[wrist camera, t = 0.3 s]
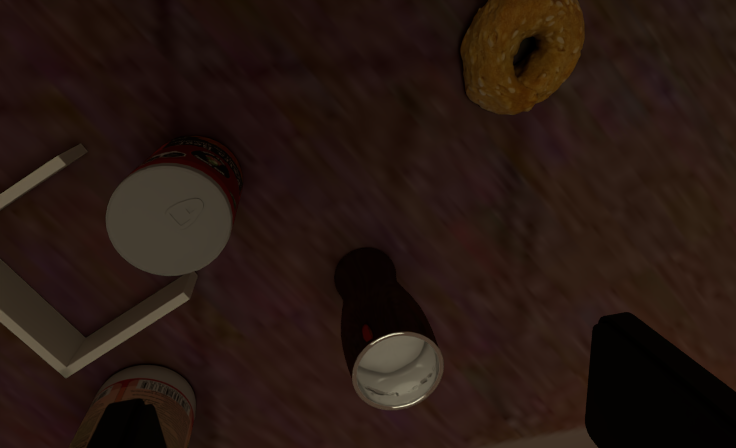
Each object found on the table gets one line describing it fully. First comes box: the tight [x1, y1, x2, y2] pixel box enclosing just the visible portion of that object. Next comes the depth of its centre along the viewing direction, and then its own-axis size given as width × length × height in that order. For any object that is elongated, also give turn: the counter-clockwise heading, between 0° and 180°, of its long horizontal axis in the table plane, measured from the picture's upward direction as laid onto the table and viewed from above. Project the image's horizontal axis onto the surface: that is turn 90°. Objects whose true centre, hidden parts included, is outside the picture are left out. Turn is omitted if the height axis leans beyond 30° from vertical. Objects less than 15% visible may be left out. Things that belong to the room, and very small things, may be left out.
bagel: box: [460, 0, 585, 115], centre depth 40 cm, size 10×11×5 cm
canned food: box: [106, 136, 243, 276], centre depth 37 cm, size 8×8×11 cm
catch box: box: [0, 144, 198, 378], centre depth 40 cm, size 15×13×4 cm
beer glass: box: [334, 248, 444, 410], centre depth 41 cm, size 7×7×15 cm
